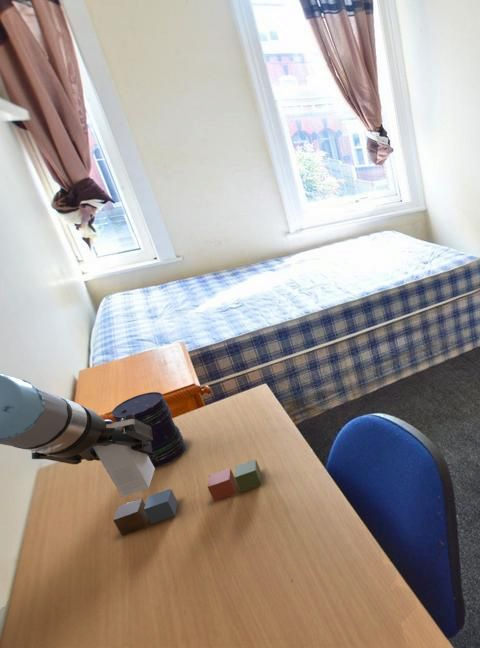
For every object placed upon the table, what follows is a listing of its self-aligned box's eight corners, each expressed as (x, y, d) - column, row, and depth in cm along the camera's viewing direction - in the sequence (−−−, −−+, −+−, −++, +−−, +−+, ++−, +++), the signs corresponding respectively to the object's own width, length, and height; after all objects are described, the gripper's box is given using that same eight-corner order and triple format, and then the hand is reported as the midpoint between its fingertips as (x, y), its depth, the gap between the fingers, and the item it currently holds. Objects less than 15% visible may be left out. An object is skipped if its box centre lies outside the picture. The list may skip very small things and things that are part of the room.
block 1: (121, 535, 91) (112, 520, 90) (126, 521, 95) (118, 506, 93) (145, 526, 93) (137, 511, 91) (150, 512, 96) (142, 498, 94)
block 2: (151, 524, 93) (143, 509, 91) (155, 510, 96) (147, 496, 95) (175, 515, 95) (167, 501, 93) (178, 502, 98) (170, 488, 96)
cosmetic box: (129, 477, 89) (101, 426, 84) (155, 469, 90) (129, 418, 86) (121, 499, 84) (90, 446, 79) (149, 489, 85) (121, 437, 80)
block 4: (240, 492, 99) (234, 477, 97) (241, 480, 102) (235, 466, 101) (261, 484, 101) (255, 470, 99) (261, 473, 104) (255, 459, 102)
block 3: (214, 501, 97) (207, 487, 96) (215, 489, 101) (209, 475, 99) (235, 494, 99) (229, 479, 97) (236, 482, 102) (230, 467, 100)
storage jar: (172, 438, 119) (148, 388, 114) (195, 446, 115) (172, 395, 109) (129, 463, 111) (102, 412, 105) (152, 474, 107) (125, 421, 101)
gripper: (-20, 475, 64) (79, 489, 84) (131, 431, 70) (189, 454, 90) (-20, 423, 66) (76, 449, 87) (126, 385, 72) (183, 417, 93)
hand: (133, 451), depth 88 cm, fingers closed on cosmetic box, 4 cm apart
